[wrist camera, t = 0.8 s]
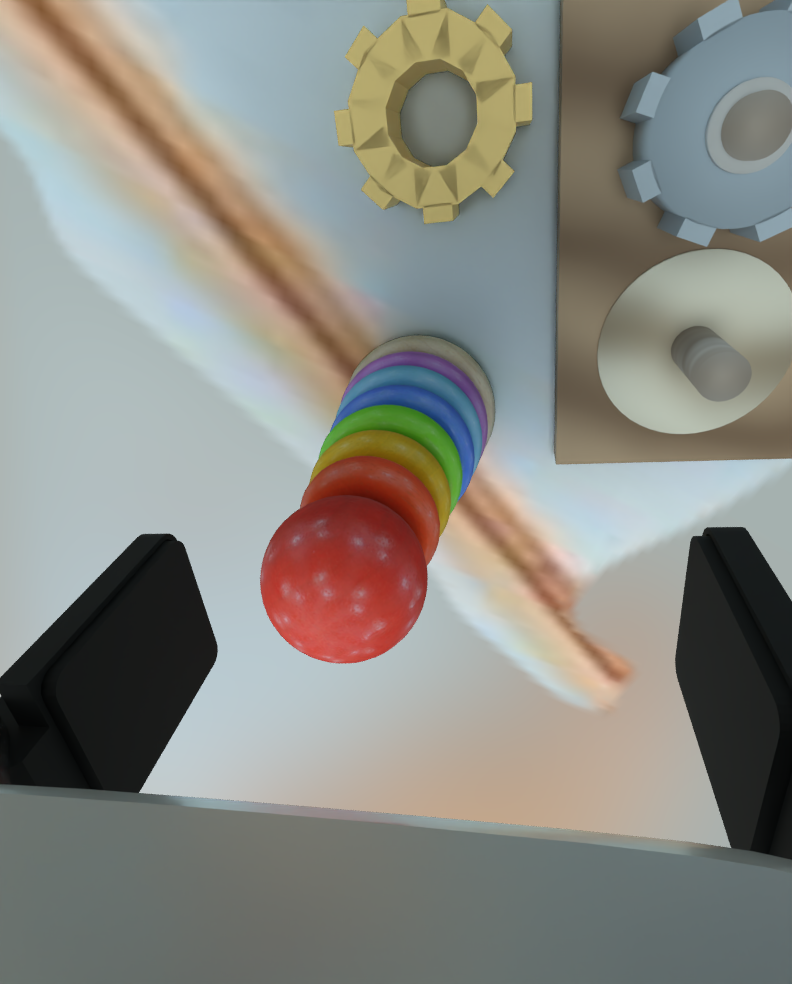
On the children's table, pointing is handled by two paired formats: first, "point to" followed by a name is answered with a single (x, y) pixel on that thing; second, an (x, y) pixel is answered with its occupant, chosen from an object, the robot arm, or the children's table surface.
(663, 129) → the slate gear
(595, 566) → the children's table surface
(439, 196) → the ochre gear
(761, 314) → the gear board
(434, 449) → the stacking toy
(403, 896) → the robot arm
